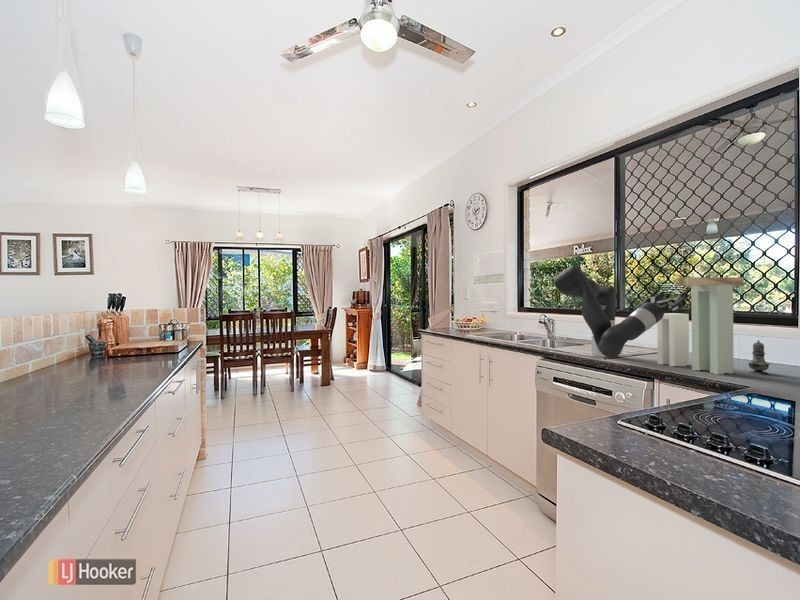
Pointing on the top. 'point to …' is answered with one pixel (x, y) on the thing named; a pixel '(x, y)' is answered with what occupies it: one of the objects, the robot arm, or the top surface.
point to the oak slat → (711, 281)
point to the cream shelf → (673, 339)
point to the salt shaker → (758, 360)
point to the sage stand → (712, 328)
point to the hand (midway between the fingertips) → (674, 293)
